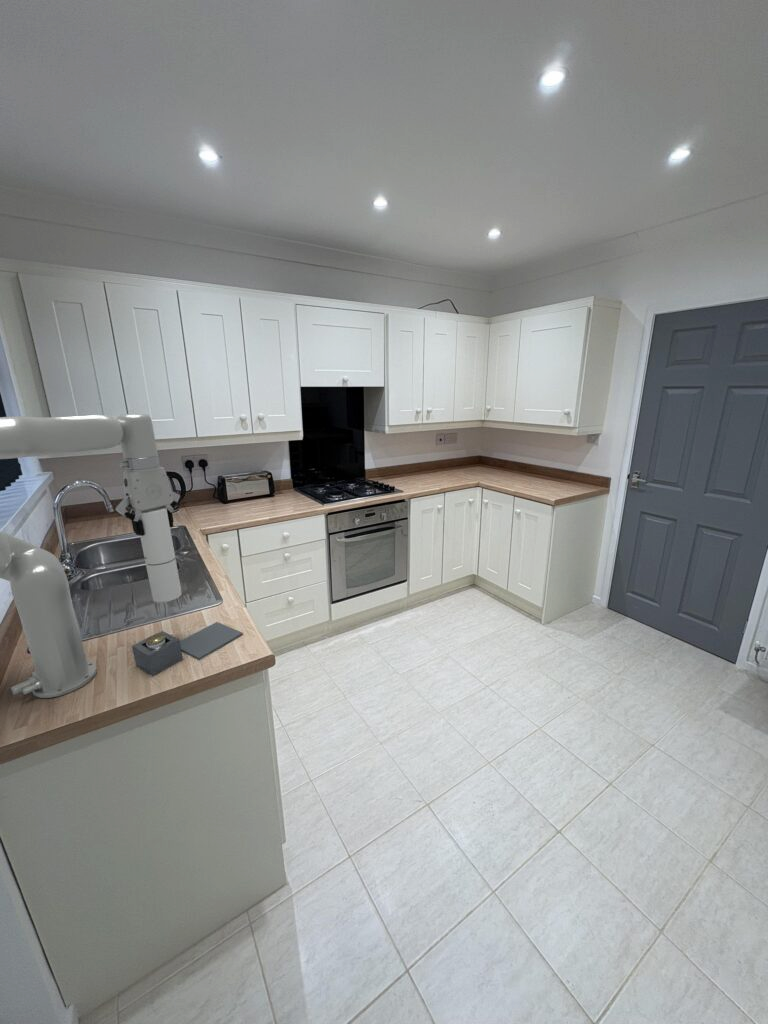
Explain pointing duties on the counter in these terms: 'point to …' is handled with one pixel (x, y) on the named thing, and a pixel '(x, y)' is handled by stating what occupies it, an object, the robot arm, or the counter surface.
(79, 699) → the counter surface
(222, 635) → the rubber mat
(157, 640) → the plunger
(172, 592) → the cylindrical container
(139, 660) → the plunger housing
